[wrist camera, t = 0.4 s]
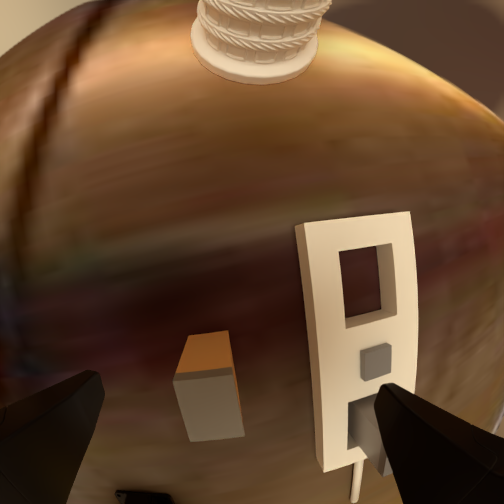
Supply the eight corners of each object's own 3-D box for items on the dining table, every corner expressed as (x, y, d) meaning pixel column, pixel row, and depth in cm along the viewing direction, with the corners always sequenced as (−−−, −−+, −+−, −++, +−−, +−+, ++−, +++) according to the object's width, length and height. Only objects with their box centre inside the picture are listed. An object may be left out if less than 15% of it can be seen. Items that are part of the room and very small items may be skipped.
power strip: (385, 486, 23) (396, 500, 20) (317, 510, 22) (324, 527, 19) (392, 214, 22) (415, 210, 19) (294, 226, 21) (307, 221, 18)
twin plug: (372, 417, 22) (415, 461, 14) (344, 427, 22) (382, 477, 14) (374, 384, 22) (423, 425, 14) (345, 394, 22) (388, 442, 14)
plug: (236, 377, 21) (245, 435, 13) (198, 382, 21) (190, 441, 13) (228, 330, 21) (232, 374, 13) (188, 335, 21) (172, 381, 13)
